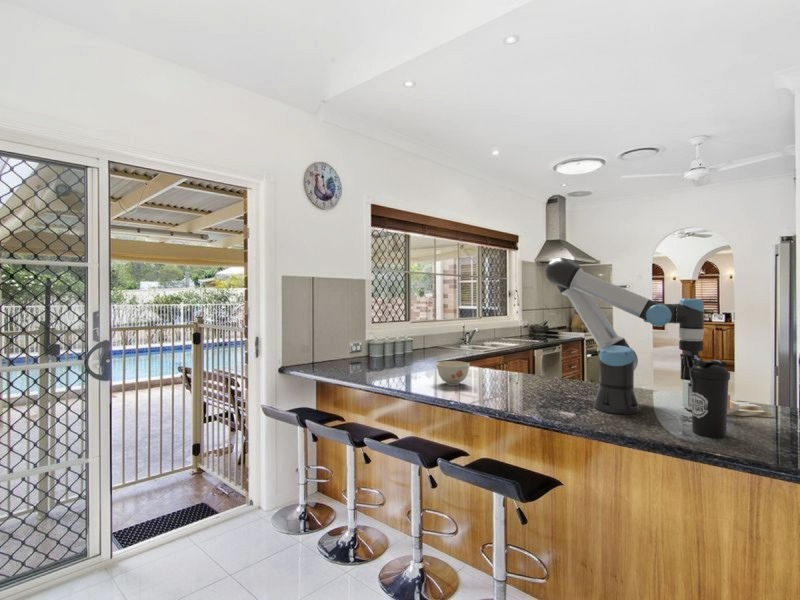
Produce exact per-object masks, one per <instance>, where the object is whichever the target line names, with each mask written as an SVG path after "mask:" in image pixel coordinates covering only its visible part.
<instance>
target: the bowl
mask: <svg viewBox="0 0 800 600" xmlns="http://www.w3.org/2000/svg"><path fill="white" fill-rule="evenodd" d="M436 368H437V373H438V376H439V377H440V378H441V381H444V382H445V384H446V385H447V386H452V387H455V386H460V384H461V382H463V381H464V380H465V379H466V378H467V376H468V373H469V369H470V362H465V361H459V360H458V361H457V360H445V361H439V362H436Z"/></svg>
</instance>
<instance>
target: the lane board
mask: <svg viewBox="0 0 800 600" xmlns="http://www.w3.org/2000/svg"><path fill="white" fill-rule="evenodd" d="M730 400H731V399H730ZM731 401H733V402H750V401H749V400H734V399H733V400H731ZM727 416H741V417H742V416H744V417H746V416H747V417H760V418H761V417H762V418H775V413H774V412H773V411H764V410H762V406H759V405H757V406H742V405H739V410H727Z"/></svg>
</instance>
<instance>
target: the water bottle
mask: <svg viewBox="0 0 800 600" xmlns="http://www.w3.org/2000/svg"><path fill="white" fill-rule="evenodd" d="M702 360H703V359H702ZM702 360H694V362H697V364H696V365H694V366H693V367H692V368H691V369H690V376H691V389H692V410H691V417H692V419H691V420H692V421H691V422H692V423H691V425H692V426H691V427H692V432H693V434H695V435H698V436H701V437H703V438H711V439H725V438H726V437H727V421H728V415H727V404H728V394H729V381H730V379H731V373H730V371H729V370H728V369H727V367H726V366H727V363H726V362H725V361H723V360H718V359H711V360H710V361H706V360H703V361H702Z"/></svg>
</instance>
